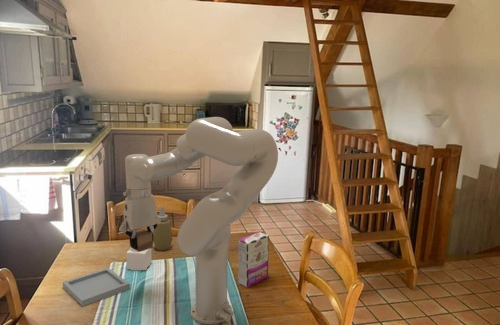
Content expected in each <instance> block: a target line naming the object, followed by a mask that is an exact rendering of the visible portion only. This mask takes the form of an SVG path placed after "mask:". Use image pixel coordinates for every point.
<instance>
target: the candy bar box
mask: <svg viewBox="0 0 500 325" xmlns="http://www.w3.org/2000/svg"><path fill="white" fill-rule="evenodd" d="M269 236H270V234H267V233H264V232H262V231H257V232H256V233H253V234H251V235H248V236H245V237H243V238H240V239H238V240H237V246H238V247H237V258H238V260H237V262H238V263H237V264H238V265H237V266H238V268H237V269H238V270H237V272H238V274H237V275H238V276H237V278H238V279H237V280H238V282H237V283H238V284H239V285H241V286H243V287H245V288H250V287H251V286H254V285H256V284H258V283H260V282H261V281H263V280H266V279H268V278H269V245H270V243H269V240H270V239H269Z"/></svg>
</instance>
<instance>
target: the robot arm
mask: <svg viewBox="0 0 500 325" xmlns="http://www.w3.org/2000/svg"><path fill="white" fill-rule="evenodd" d="M278 149H279V148H278V145H277V143H276V140H275V138H274V137H273V135H272V134H271V133H270V132H268V131H267V130H265V129H260V128H250V129H246V130H241V131H240V130H239V131H234V129H233V126H232V124H231V123H230V122H229V121H228V120H227V119H226V118H224V117H220V116H212V117H211V116H210V117H202V118H196V119H195V120H193V121H192V122H190V123H189V125H188V126H187V128H186V131H185V133H184V134H182V135H180V136H179V137H178V138H177V140H176V148H174V149H172V150H170V151H169V152H166V153H160V154H156V155H152V156H149V155H148V154H145V153H135V154H133V153H132V154H128V155H127V156H126V157H125V160H124V166H125V183H126V184H125V185H126V190H125V191H123V193H122V195H123V196H124V197H125V198H124V199H125V200H124V205H123V206H124V207H123V222H122V224H121V225H120V226H119V229H118V231H119V232H121V233H123V234H125V235H126V236H128V237H129V246H130V248H133V249H135V250H136V249H137V238H136V237H135V235H136V232H137V231H139V230H141V229H142V230H143V229H145V228H146V231H148V232H151V233H152V242H153V233H154V231H155V228H156V227H157V225H158V224H159V223H160V222H161V219H160V218H159V217H158V215H159V214H158V210H157V202H156V198H155V196H154V194H152V184H151V182H156V181H159V180H162V179H165V178H168V177H172V176H175V175H177V174H179V173H182V172H183V171H185V170H186V169H188V168H190V167H192V166H193V165H194V164H196V163H197V162H198V161H199V160H201V159H203V158H204V157H209V158H211V159H214V160H216V161H218V162H220V163H221V162H222V163H223V164H225V165H226V164H227V165H228V166H234V167H240V168H239V169H238V170H237V171H236V172H235V173H234V174H233V176H231V179H230V180H229V181H228V182H227V183H226V185H225V186H224V187H223V188H222V189H220V190H217V191H215V192H212V193H210V194H208V195H206V196H204V197H203V198H202V199H200V200H199V202H198V203H196V205H195V206H194V208H193V209H192V210H191V211H190V213H189V214H188V216H187V217H186V218H185V220H184V221H183V223H182V224H181V225H180V227H179V229H178V232H177V238H176V241H177V245H178V248H179V250H180V251H181V252H182V253H183V254H185V255H186V256H189V257H195V266H194V267H195V272H194V273H195V278H194V279H195V303H194V304H192V306H191V308H190V317H191V318H192V319H193V320H194V321H195V322H196V323H199V324H203V325H217V324H221V323H224V322H226V323H229V322H231V320H232V316H234V314H235V312H234V311H233V307H232V305H231V304H230V302H229V301H228V265H229V264H228V262H229V261H228V260H229V259H228V258H229V246H230V240H231V233H232V226H231V224H233V223H235V222H237V221H238V220H240V219H241V217H243V216H244V214H245V212H246V211H247V210H248V208H249V207H250V206H251V205H252V203H253V202H254V201H255V200H256V198H257V197H258V196H259V194H260V193H261V192H262V190H263V189H264V188H265V187H266V185H267V184H268V183H269V181H270V180H271V178H272V177H273V175H274V173H275V172H276V168H277V165H278V160H279V159H278V158H279V150H278ZM127 228H128V229H127ZM153 243H154V242H153Z"/></svg>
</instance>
